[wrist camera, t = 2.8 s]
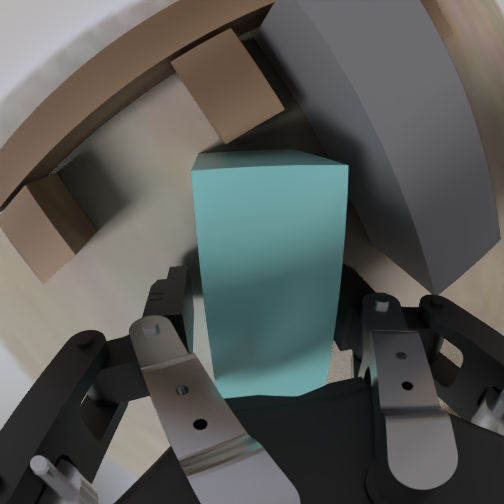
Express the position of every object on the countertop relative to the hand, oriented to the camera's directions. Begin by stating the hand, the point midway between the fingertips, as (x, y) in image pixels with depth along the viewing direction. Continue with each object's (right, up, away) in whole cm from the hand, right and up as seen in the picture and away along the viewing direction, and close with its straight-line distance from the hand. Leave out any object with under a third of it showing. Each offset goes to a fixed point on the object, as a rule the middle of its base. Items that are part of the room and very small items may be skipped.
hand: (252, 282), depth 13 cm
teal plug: (0, 0, +1) cm, 1 cm away
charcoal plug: (+4, +6, -1) cm, 8 cm away
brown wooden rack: (-1, +7, -3) cm, 8 cm away
